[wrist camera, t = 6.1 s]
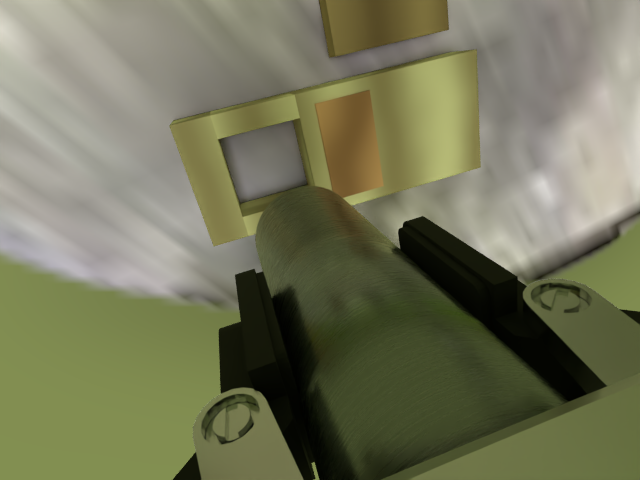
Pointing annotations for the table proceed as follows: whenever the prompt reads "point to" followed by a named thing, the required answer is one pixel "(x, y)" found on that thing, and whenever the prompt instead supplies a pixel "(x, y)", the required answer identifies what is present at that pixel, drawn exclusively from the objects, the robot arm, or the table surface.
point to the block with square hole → (345, 137)
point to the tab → (379, 22)
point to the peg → (382, 345)
